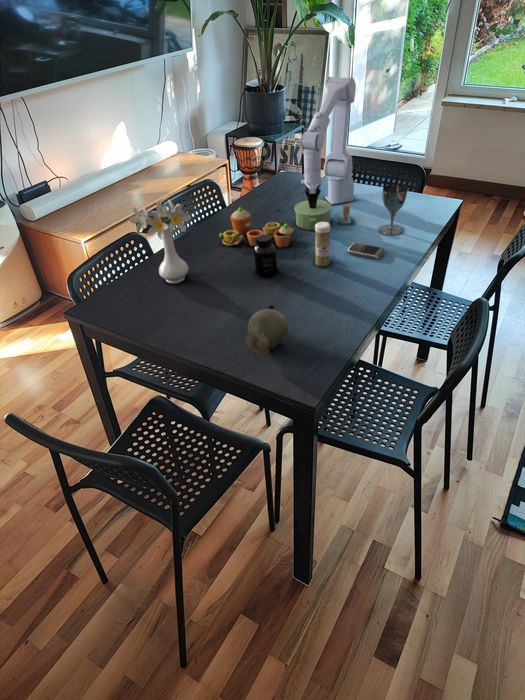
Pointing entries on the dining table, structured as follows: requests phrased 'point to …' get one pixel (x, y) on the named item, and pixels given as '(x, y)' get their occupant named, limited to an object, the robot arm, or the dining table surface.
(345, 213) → the masher
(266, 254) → the supplement bottle
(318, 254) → the sprinkles bottle
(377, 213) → the dining table surface
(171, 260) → the flower vase
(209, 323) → the dining table surface
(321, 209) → the pot lid
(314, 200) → the robot arm
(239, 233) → the toy tea set
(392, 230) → the wine glass
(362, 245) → the cell phone
